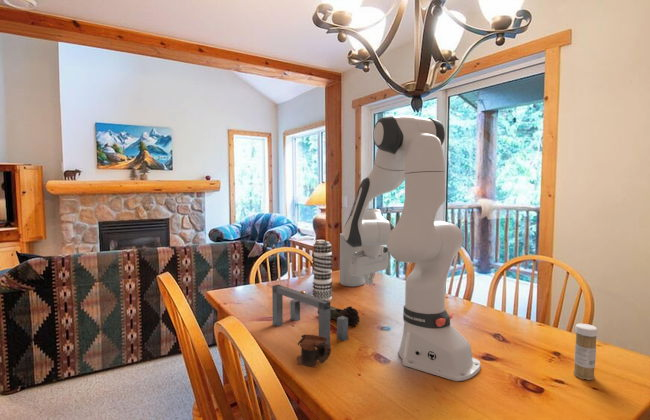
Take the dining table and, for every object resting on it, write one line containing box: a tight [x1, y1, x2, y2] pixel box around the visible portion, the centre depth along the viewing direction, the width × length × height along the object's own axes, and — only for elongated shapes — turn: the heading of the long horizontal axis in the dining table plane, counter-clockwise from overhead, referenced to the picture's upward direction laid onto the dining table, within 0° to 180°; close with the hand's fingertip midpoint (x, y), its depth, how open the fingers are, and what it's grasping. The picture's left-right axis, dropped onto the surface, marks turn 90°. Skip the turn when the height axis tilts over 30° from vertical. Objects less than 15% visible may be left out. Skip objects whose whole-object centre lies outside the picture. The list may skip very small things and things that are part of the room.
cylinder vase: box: [339, 232, 365, 288], centre depth 185 cm, size 12×12×25 cm
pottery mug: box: [296, 334, 332, 368], centre depth 104 cm, size 12×10×8 cm
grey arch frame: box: [271, 284, 331, 347], centre depth 122 cm, size 26×3×14 cm, turn 44°
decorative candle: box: [311, 240, 334, 301], centre depth 161 cm, size 9×9×25 cm
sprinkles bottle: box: [573, 323, 598, 381], centre depth 96 cm, size 5×5×14 cm
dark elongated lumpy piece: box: [317, 305, 360, 327], centre depth 136 cm, size 18×7×6 cm, turn 45°
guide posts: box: [289, 299, 349, 342], centre depth 127 cm, size 26×2×7 cm, turn 44°
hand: (368, 283), depth 146 cm, fingers closed
